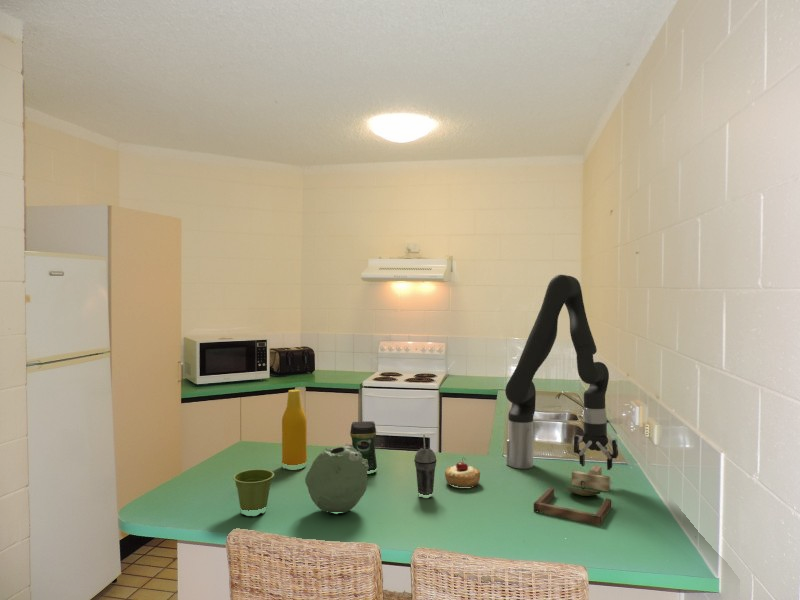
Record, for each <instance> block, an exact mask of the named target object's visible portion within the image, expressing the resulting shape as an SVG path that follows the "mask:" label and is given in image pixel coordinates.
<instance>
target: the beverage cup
mask: <svg viewBox="0 0 800 600" xmlns="http://www.w3.org/2000/svg"><path fill="white" fill-rule="evenodd" d="M422 436H423V437H422V438H423V440H422V441H423V447H421V448H420V449H418V450H417V452H416V453H415V455H414V460H413V461H414V466H415V471H416V484H417V493H420V494H423V495H429V494H432V493H434V484H435V471H436V465H437V457H436V456H437V455H436V453H435V451H433V450H432V449H431V448H430V447H426V437H425V434H423V435H422Z"/></svg>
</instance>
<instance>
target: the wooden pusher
mask: <svg viewBox="0 0 800 600" xmlns="http://www.w3.org/2000/svg"><path fill="white" fill-rule="evenodd" d="M602 469H603V468H602V465H596V464H594V465H593V466H592V467H591V468H590V470H589V471H588V472H583V471H578V470H572V471H571V486H576V487H581V486H582V487H583V488H584V487H585V488H587V489H592V490H593V489H594V490H596V491H603V492H610V491H611V476H607V475H603V474H602ZM581 481H584V482H585V484H584V482H582V485H581ZM609 490H610V491H609Z"/></svg>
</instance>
